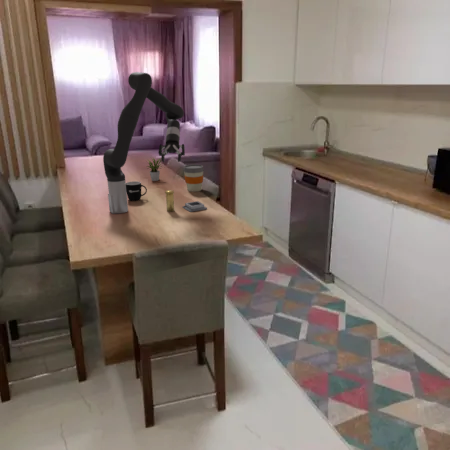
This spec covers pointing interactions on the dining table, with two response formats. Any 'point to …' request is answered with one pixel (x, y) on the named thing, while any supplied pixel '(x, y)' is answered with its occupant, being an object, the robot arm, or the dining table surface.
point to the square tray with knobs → (194, 206)
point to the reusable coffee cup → (194, 177)
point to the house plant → (154, 169)
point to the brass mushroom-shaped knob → (170, 200)
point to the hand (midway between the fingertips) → (171, 161)
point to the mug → (134, 190)
